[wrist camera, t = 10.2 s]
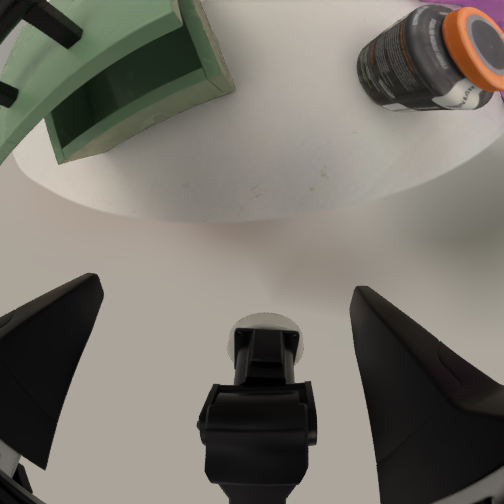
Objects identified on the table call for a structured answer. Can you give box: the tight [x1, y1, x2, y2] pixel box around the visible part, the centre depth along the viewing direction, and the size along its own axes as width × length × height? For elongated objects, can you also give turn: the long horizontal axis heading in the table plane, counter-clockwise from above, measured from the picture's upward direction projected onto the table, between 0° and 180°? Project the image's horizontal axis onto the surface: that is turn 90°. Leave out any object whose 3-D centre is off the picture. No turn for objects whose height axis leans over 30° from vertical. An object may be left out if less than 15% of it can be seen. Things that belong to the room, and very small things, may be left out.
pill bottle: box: [357, 5, 504, 112], centre depth 9 cm, size 6×6×11 cm
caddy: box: [44, 0, 235, 165], centre depth 12 cm, size 13×12×6 cm
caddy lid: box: [0, 0, 183, 165], centre depth 4 cm, size 13×12×5 cm
